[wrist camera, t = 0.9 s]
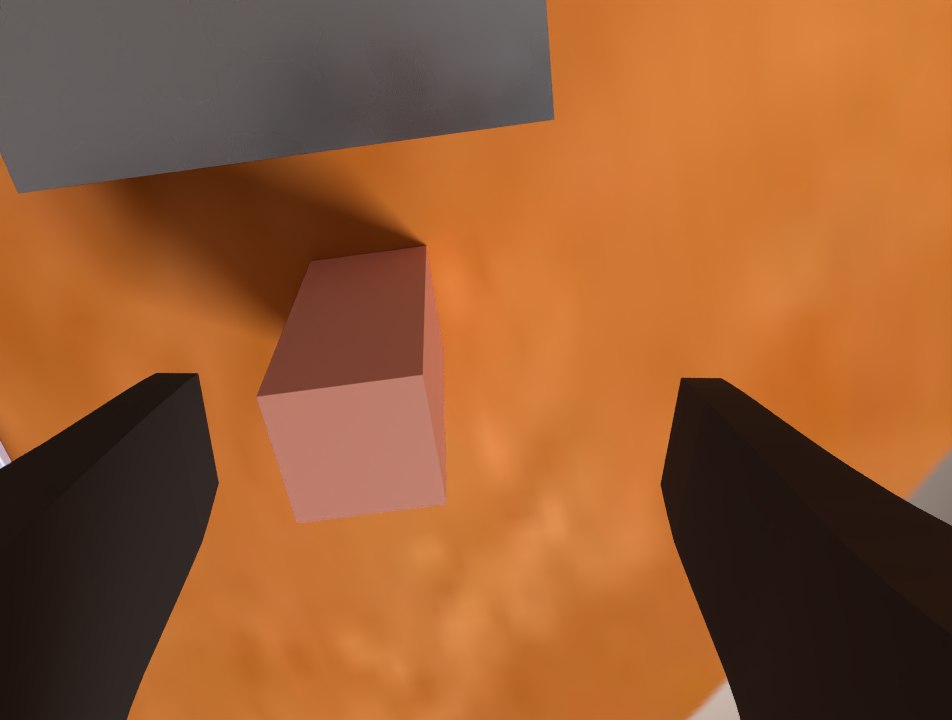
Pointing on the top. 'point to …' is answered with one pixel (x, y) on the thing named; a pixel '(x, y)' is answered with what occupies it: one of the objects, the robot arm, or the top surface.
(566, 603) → the top surface
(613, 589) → the top surface
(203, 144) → the gray slotted base
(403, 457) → the reddish brown rectangular block
